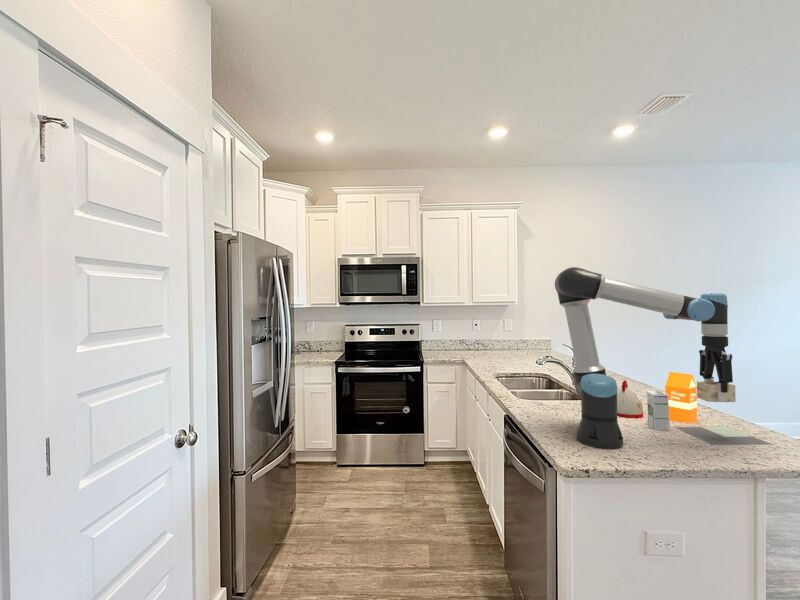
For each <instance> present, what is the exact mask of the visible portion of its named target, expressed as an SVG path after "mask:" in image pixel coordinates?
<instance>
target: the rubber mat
mask: <svg viewBox="0 0 800 600" xmlns="http://www.w3.org/2000/svg"><path fill="white" fill-rule="evenodd" d="M673 428H675V429H677V430H679V431H681V432H683V433H685V434H688V435H690V436H692V437H694V438H697V439H698V440H701V441H703V442H706V443H707V444H710V445H713V446H731V445H733V446H734V445H736V446H737V445H738V446H739V445H740V446H742V445H744V446H745V445H748V446H749V445H754V446H755V445H772V443H771V442H767V441H765V440H763V439H760V438H757V437H755V436H752V435H750V434H748V433H744V432H742V431H739V430H736V429H733V428H731V427H728V426H674V427H673Z"/></svg>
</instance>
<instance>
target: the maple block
mask: <svg viewBox="0 0 800 600" xmlns="http://www.w3.org/2000/svg"><path fill="white" fill-rule="evenodd" d="M717 382H718V381H714V382H704V381H696V387H697V399H699V400H703V401H705V402H708V403H711V402H712V403H725V402H724V401H718V391H717ZM727 389H728V392H727V402H726V403H736V401H737V400H736V385H735V384H732V383H728V388H727Z"/></svg>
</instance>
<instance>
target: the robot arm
mask: <svg viewBox="0 0 800 600" xmlns="http://www.w3.org/2000/svg"><path fill="white" fill-rule="evenodd" d="M554 288H555V290H556V293H557V297H558V302H559V306H561V307H563V308H564V312H565V317H566V322H567V326H568V331H569V337H570V341H571V347H572V352H573V356H574V362H575V367H574V368H573V370H572V371H573V377H574V388H575V391H576V394H578V396H579V397H580V403H581V404H580V405H581V406H580V407H581V410H580V411H581V419H580V421H579V425H578V427H577V430H576V440H577V442H579V443H581V444H584V445H587V446H590V447H593V448H598V449H620V448H623V446H624V436H623V435H622V431H621V428H620V425H619V422H618V417H617V390H618V389H619V388H618V384H617V380H616V379H615V377H614V378H613V377H612V376H609V375H607V373H606V367H605V366H604V365H602V364H601V363H600V358H599V354H598V350H597V344H596V339H595V334H594V329H593V324H592V320H591V315H590V310H589V306H588V305H589V302H591V300H597V299H601V300H607V301H610V302H615V303H619V304H623V305H627V306H631V307H636V308H640V309H643V310H644V309H645V310H649V311H654V312H658V313H662V316H663V317H664V318H665V319H666V320H684V321H685V320H686V321H694V322H701V324H700V326H701V327H700V331H701V333H700V334H701V345H702V346H704V349H699V351H698V353H699V376H701V377H702V378H703V379H704V380H703V382H715V381H714V380H715V377H714V376H713V374H714V369H716V374H717V378H718V381H716V382H717V391H718V401H724V402H723V403H728V402H727V392H728V389H727V388H728V383H729V384H732V383H734V379H733V367H732V366H733V365H732V360H733V355H732V353H731V354H730V353H726V349H725V348H727V347H729V337H728V336H727V335H729V333H728V332H729V329H728V326H729V324H728V323H729V322H728V310H729V309H728V308H729V305H728V303H729V302H728V297H727V295H726V294H725V293H723V292H720V293H718V292H716V293H715V292H714V293H712V292H711V293H701V294H700V297H698V298H697V297H692V296H687V295H683V294H679V293H675V292H670V291H665V290H660V289H657V288H651V287H648V286H644V285H638V284H634V283H630V282H625V281H622V280H621V281H620V280H616V279H611V278H607V277H605V276H604V275H603V274H602V273H598V272H594V271H590V270H587V269H585V268H581V267H578V266H577V267H575V266H573V267H572V266H571V267H568V268H566V269H564V270H563V271H561V272H559V273H558V275H557V277H556V278H555V280H554Z"/></svg>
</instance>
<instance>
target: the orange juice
mask: <svg viewBox="0 0 800 600" xmlns="http://www.w3.org/2000/svg"><path fill="white" fill-rule="evenodd" d="M695 381H696V380H695V378H694V376H693V374H689V373H681V372H673V371H669V372H668V376H667V379H666V383H665V386H664V388H665V389H664V391H665V392H664V393H666V394H668V400H669V421H671V420H672V422H675V423H676V422H677V423H687V424H692V423H697V422H698V398H697V383H696V382H695Z"/></svg>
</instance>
